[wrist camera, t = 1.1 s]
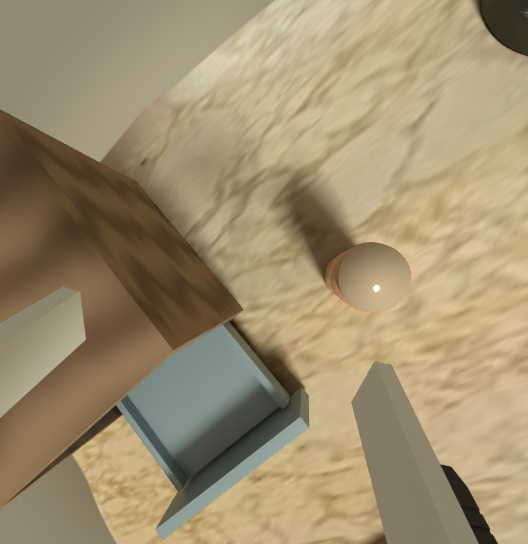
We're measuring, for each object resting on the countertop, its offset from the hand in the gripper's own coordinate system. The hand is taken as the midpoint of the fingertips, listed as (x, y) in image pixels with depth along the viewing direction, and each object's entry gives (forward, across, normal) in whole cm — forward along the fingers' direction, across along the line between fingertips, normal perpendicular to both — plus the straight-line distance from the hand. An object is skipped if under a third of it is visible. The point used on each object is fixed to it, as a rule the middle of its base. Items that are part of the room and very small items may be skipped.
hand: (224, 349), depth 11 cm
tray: (+13, -5, -18) cm, 23 cm away
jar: (+18, +11, -2) cm, 21 cm away
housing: (+18, -15, -12) cm, 27 cm away
